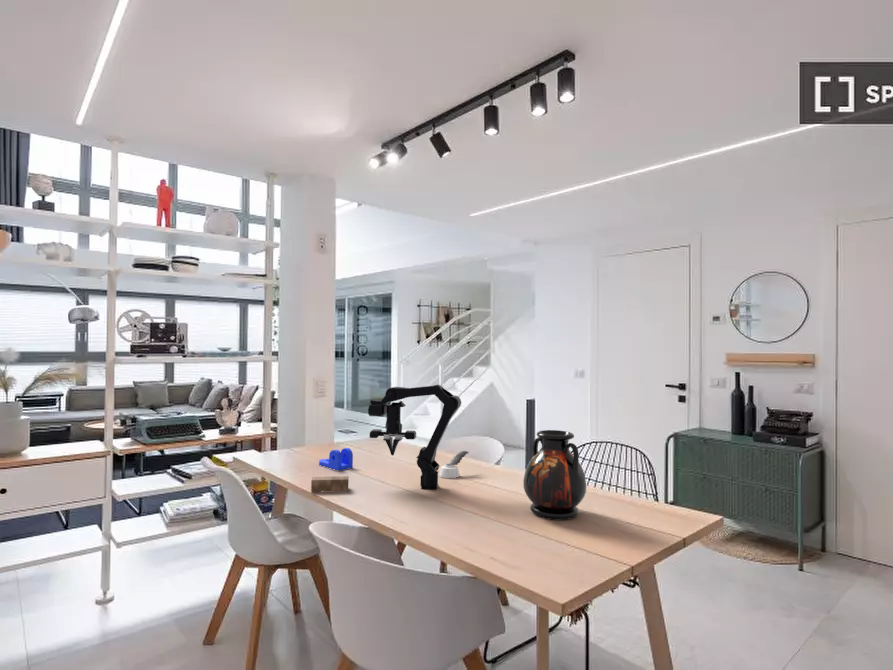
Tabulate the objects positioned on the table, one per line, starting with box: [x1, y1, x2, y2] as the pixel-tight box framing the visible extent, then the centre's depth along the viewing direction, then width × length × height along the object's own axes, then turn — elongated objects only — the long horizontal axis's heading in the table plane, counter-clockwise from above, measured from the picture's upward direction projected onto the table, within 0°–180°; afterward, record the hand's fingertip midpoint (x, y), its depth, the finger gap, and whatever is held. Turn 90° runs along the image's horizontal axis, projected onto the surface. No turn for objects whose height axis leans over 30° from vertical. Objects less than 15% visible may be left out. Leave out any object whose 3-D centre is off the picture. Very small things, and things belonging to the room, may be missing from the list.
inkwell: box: [438, 450, 470, 479], centre depth 235 cm, size 9×18×10 cm, turn 140°
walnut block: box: [310, 475, 350, 493], centre depth 205 cm, size 5×5×14 cm
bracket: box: [318, 447, 354, 471], centre depth 246 cm, size 18×8×9 cm, turn 47°
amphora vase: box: [522, 429, 587, 520], centre depth 182 cm, size 22×22×28 cm
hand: (392, 455), depth 216 cm, fingers closed
